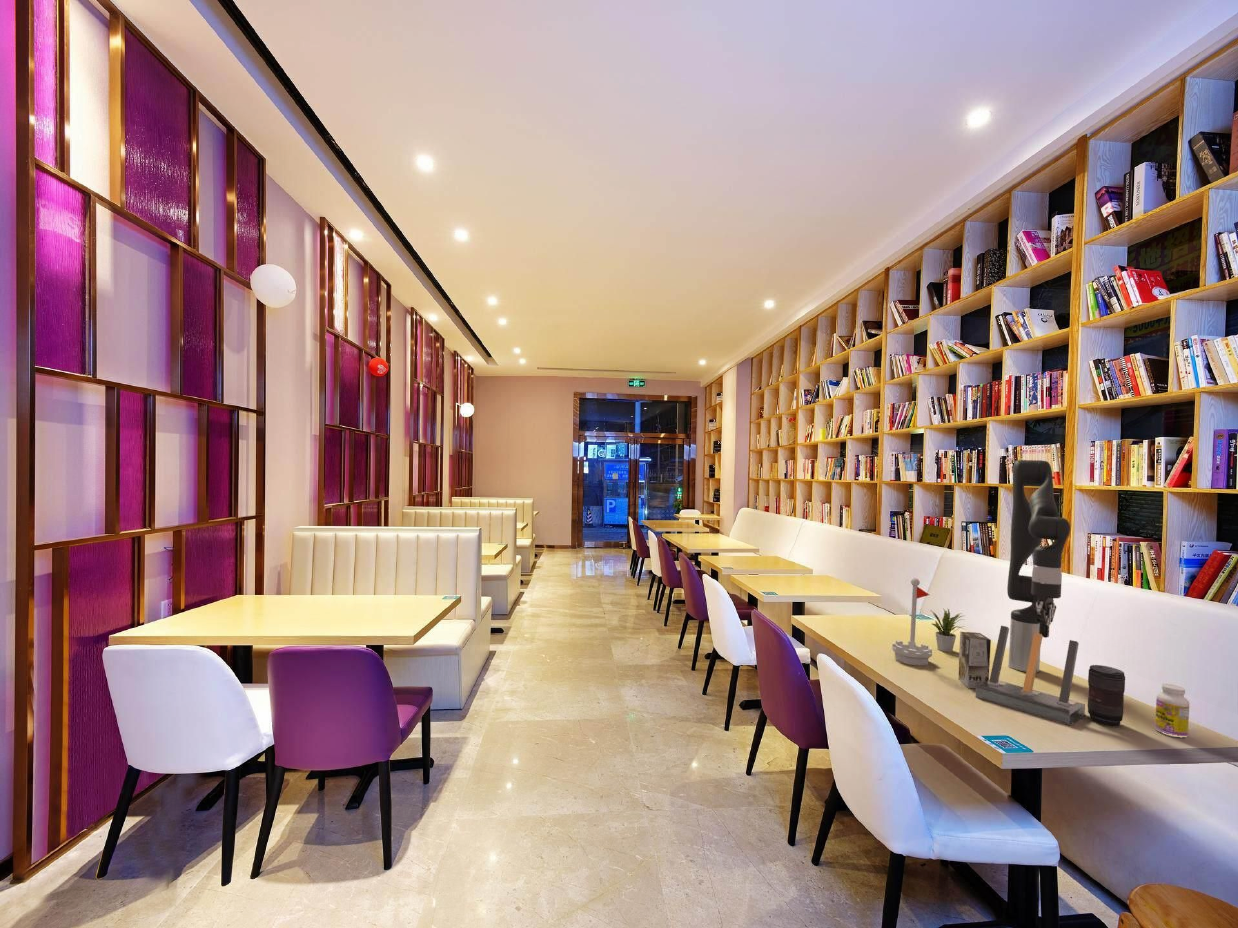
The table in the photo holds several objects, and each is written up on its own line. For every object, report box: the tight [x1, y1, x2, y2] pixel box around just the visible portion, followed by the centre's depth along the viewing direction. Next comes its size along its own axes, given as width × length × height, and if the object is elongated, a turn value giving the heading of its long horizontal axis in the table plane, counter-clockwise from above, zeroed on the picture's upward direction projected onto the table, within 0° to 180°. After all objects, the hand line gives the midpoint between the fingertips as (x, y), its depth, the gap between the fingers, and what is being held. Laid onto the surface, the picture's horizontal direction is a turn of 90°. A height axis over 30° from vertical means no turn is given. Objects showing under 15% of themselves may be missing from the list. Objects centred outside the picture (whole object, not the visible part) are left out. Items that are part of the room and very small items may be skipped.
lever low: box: [987, 625, 1010, 688], centre depth 189 cm, size 2×3×19 cm, turn 40°
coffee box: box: [958, 631, 992, 690], centre depth 197 cm, size 9×6×16 cm
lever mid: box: [1021, 633, 1044, 697], centre depth 182 cm, size 2×3×19 cm, turn 40°
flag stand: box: [891, 577, 933, 666], centre depth 221 cm, size 13×13×30 cm
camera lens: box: [1087, 664, 1126, 728], centre depth 171 cm, size 8×8×15 cm
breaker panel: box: [975, 680, 1086, 726], centre depth 181 cm, size 14×24×4 cm, turn 39°
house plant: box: [929, 608, 964, 653], centre depth 236 cm, size 14×14×16 cm
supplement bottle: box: [1154, 683, 1190, 737], centre depth 165 cm, size 7×7×13 cm
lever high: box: [1057, 639, 1079, 708], centre depth 175 cm, size 2×3×19 cm, turn 40°
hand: (1043, 636), depth 188 cm, fingers closed
